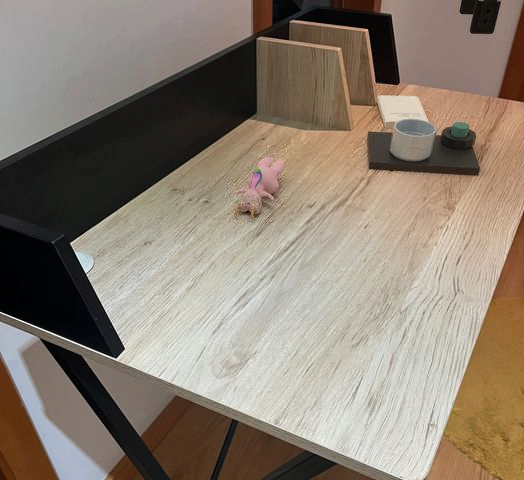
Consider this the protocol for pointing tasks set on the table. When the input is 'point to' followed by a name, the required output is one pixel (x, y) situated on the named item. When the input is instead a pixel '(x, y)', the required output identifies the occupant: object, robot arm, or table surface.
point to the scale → (440, 161)
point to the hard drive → (399, 109)
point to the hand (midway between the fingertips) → (475, 23)
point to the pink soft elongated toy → (260, 186)
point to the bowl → (412, 139)
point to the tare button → (460, 129)
